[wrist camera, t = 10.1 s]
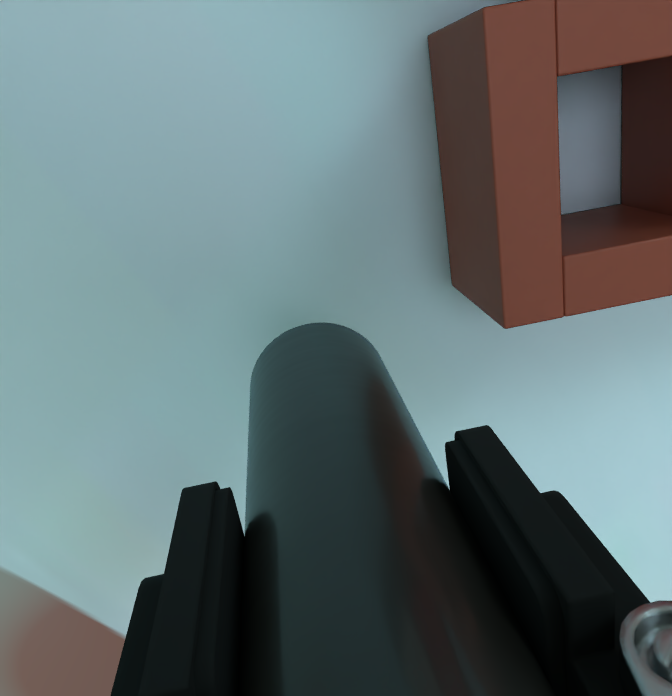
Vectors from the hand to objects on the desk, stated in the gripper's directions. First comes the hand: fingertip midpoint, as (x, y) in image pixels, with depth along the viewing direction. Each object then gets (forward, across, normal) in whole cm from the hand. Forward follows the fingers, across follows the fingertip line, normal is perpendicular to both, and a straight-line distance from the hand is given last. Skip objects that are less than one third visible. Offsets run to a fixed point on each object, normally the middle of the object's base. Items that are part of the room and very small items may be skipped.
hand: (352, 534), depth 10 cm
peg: (+6, 0, 0) cm, 6 cm away
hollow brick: (+12, -13, -4) cm, 18 cm away
